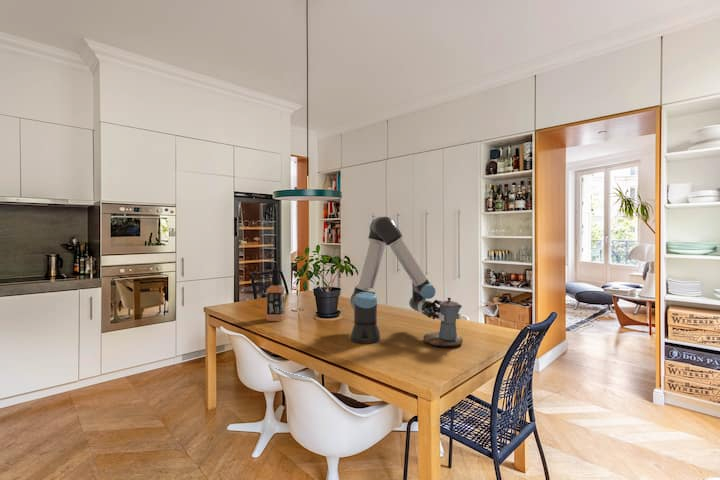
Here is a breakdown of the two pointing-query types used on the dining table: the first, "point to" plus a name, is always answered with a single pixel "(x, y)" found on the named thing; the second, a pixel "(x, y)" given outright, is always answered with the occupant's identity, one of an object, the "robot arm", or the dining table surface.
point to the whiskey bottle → (275, 299)
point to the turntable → (441, 340)
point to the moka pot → (448, 318)
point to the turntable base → (442, 346)
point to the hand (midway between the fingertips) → (451, 317)
